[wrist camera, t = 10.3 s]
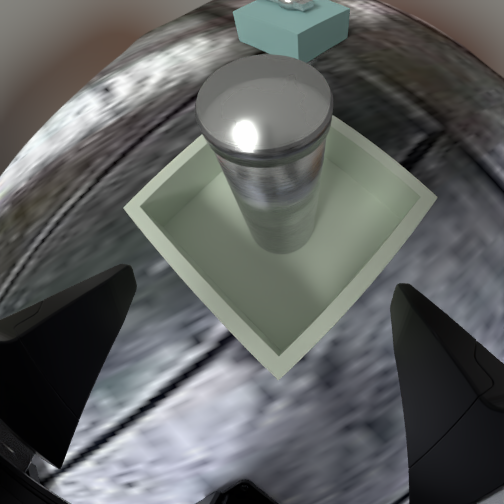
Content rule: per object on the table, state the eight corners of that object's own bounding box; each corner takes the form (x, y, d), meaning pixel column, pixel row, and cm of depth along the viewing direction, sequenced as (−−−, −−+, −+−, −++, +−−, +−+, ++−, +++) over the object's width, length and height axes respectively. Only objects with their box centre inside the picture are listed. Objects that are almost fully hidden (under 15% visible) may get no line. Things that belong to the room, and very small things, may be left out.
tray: (411, 225, 18) (437, 197, 14) (282, 368, 17) (278, 380, 13) (278, 120, 22) (273, 79, 17) (154, 232, 21) (123, 207, 16)
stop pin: (329, 221, 18) (361, 91, 8) (282, 270, 18) (262, 177, 7) (280, 180, 19) (261, 40, 9) (233, 224, 19) (167, 104, 8)
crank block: (347, 37, 24) (349, 8, 20) (298, 67, 23) (297, 34, 19) (289, 14, 26) (287, -13, 22) (239, 40, 25) (232, 11, 22)
